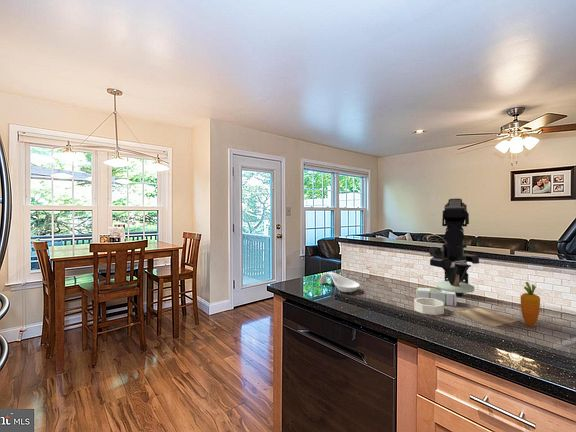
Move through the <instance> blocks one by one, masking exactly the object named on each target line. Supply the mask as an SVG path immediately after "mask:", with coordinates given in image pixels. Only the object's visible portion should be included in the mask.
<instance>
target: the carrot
mask: <svg viewBox="0 0 576 432" xmlns="http://www.w3.org/2000/svg"><path fill="white" fill-rule="evenodd" d="M536 288H537V286H536V285H535V284H530V283H529V282H528V281H526V282H525V286H523V289H524V290H525V291H526V292H524V293H522V294H521V295H520V311H521V315H522V318H523V321H524V323H525V325H526V326H528V327H530V328H533V327H534V326H535V324H536V323H537V321H538V319H539V315H540V312H541V311H540V310H541V309H540V308H541V298H540V296H539V295H537V294H535V290H536Z"/></svg>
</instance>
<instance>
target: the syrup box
mask: <svg viewBox="0 0 576 432" xmlns="http://www.w3.org/2000/svg"><path fill="white" fill-rule="evenodd" d="M415 295H416V297H415V299H416V298H433V299H437V300H439V301H442V302H443V304H444V306H453V307H456V306H457V299H458V298H457V296H456V294H455V292H449V291H445V290H441V289H439V288H433V287H432V288H431V287H421V286H420V287H419V286H416V293H415Z"/></svg>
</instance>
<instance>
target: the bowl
mask: <svg viewBox="0 0 576 432" xmlns="http://www.w3.org/2000/svg"><path fill="white" fill-rule="evenodd" d="M413 300H414V301H413V302H414V303H413V308H414V309H413V310H414V311H416V312H418V313H420V314H424V315H433V316H437V315H443V314H445V305H444V304H443V302H442V301H439V300H437V299H433V298H416V297H415V298H414V299H413Z"/></svg>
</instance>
